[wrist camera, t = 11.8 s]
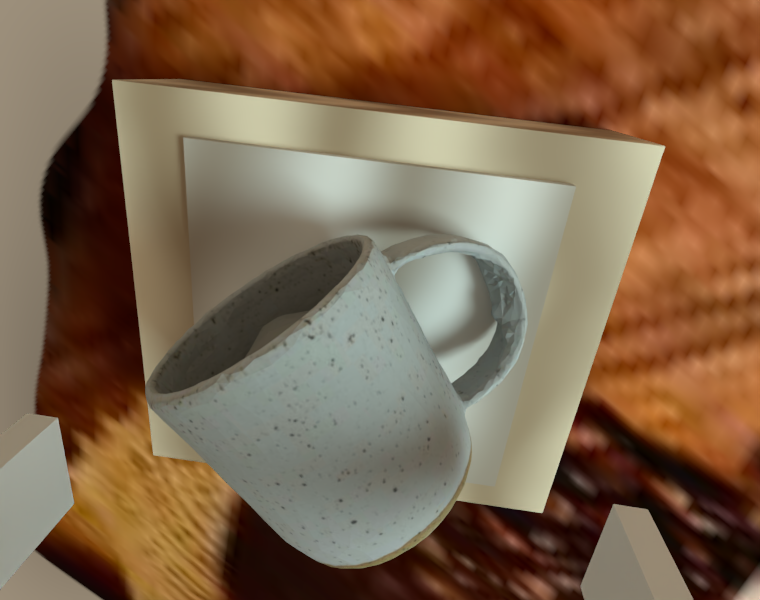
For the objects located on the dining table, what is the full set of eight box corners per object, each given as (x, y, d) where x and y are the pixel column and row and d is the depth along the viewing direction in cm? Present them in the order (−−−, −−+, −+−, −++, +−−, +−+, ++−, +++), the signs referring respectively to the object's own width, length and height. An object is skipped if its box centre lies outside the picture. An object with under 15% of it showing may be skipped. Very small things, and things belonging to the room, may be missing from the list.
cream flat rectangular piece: (612, 130, 20) (670, 147, 15) (523, 439, 27) (544, 520, 22) (180, 78, 21) (104, 79, 16) (198, 392, 28) (148, 461, 23)
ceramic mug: (323, 454, 21) (277, 634, 14) (206, 303, 19) (80, 433, 12) (556, 352, 19) (639, 515, 12) (455, 158, 16) (483, 218, 9)
